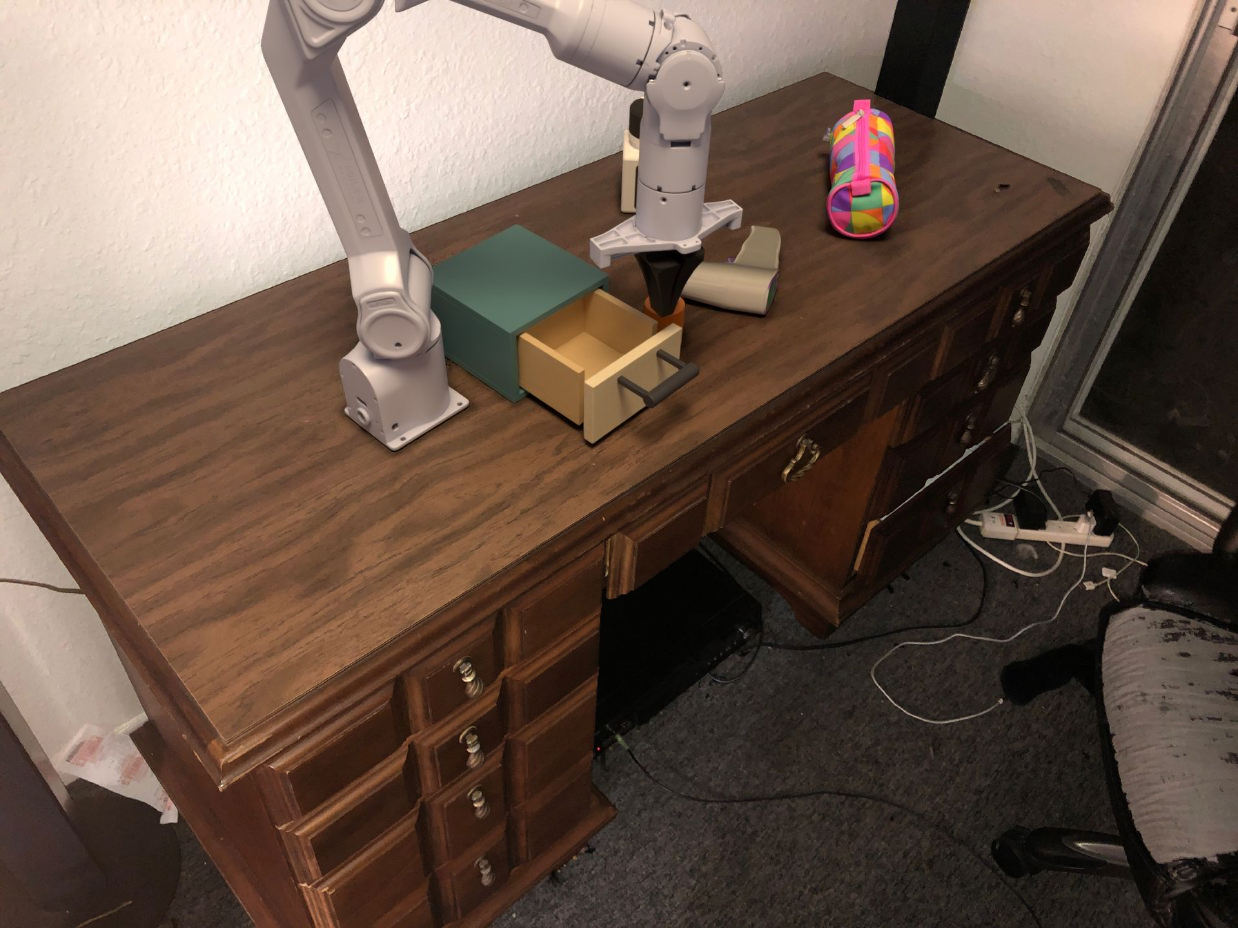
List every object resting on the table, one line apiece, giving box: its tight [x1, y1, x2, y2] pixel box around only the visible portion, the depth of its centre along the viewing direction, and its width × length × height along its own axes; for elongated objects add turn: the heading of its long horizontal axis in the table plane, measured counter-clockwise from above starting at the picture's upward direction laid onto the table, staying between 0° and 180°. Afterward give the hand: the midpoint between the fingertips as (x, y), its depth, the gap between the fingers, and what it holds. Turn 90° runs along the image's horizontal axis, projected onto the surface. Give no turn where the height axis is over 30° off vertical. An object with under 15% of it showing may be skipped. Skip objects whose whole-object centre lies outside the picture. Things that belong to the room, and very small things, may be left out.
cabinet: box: [430, 223, 610, 404], centre depth 98 cm, size 14×14×9 cm
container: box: [620, 95, 644, 214], centre depth 119 cm, size 8×8×13 cm
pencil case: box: [821, 99, 900, 240], centre depth 121 cm, size 22×9×9 cm, turn 172°
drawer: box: [516, 288, 701, 444], centre depth 92 cm, size 17×12×7 cm
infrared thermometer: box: [680, 225, 782, 316], centre depth 110 cm, size 5×12×15 cm
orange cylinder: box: [643, 296, 686, 343], centre depth 100 cm, size 4×4×6 cm
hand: (661, 310), depth 89 cm, fingers closed
